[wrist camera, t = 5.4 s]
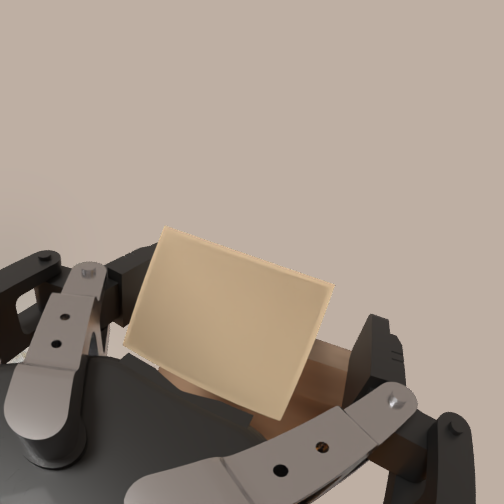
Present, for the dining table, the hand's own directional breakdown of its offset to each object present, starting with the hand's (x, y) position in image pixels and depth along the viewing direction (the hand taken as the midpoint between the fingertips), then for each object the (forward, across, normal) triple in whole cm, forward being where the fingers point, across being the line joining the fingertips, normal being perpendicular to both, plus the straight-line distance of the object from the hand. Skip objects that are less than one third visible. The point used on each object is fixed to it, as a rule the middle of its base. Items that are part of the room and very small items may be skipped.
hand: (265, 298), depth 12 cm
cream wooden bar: (+5, 0, +5) cm, 7 cm away
